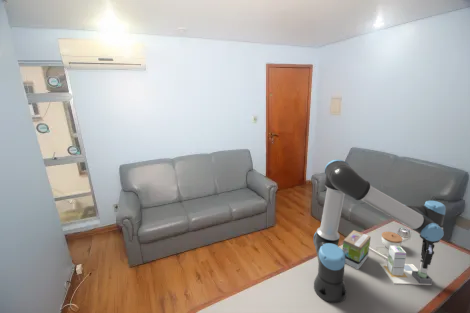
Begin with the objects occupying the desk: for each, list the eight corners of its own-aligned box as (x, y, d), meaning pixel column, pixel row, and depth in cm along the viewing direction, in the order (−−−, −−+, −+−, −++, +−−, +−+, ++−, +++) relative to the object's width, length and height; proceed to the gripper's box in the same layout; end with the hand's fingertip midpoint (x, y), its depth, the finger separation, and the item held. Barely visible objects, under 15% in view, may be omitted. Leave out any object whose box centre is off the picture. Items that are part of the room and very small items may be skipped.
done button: (420, 280, 113) (421, 275, 113) (415, 274, 117) (416, 270, 116) (428, 280, 113) (428, 275, 112) (422, 274, 116) (423, 270, 116)
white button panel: (394, 284, 114) (395, 278, 113) (379, 264, 127) (380, 259, 126) (431, 285, 112) (432, 279, 111) (412, 265, 126) (413, 260, 125)
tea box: (358, 270, 124) (361, 247, 120) (340, 261, 131) (342, 239, 128) (368, 257, 133) (371, 235, 130) (351, 249, 141) (353, 229, 137)
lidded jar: (405, 252, 136) (407, 238, 134) (387, 252, 136) (389, 239, 134) (393, 241, 146) (395, 228, 144) (376, 242, 147) (378, 229, 144)
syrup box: (403, 275, 118) (407, 252, 114) (391, 275, 119) (395, 252, 115) (397, 268, 123) (401, 245, 119) (386, 267, 124) (389, 245, 120)
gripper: (444, 241, 101) (435, 283, 107) (437, 227, 111) (430, 266, 117) (422, 236, 105) (415, 277, 111) (418, 223, 115) (412, 261, 121)
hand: (423, 271), depth 114 cm, fingers closed
